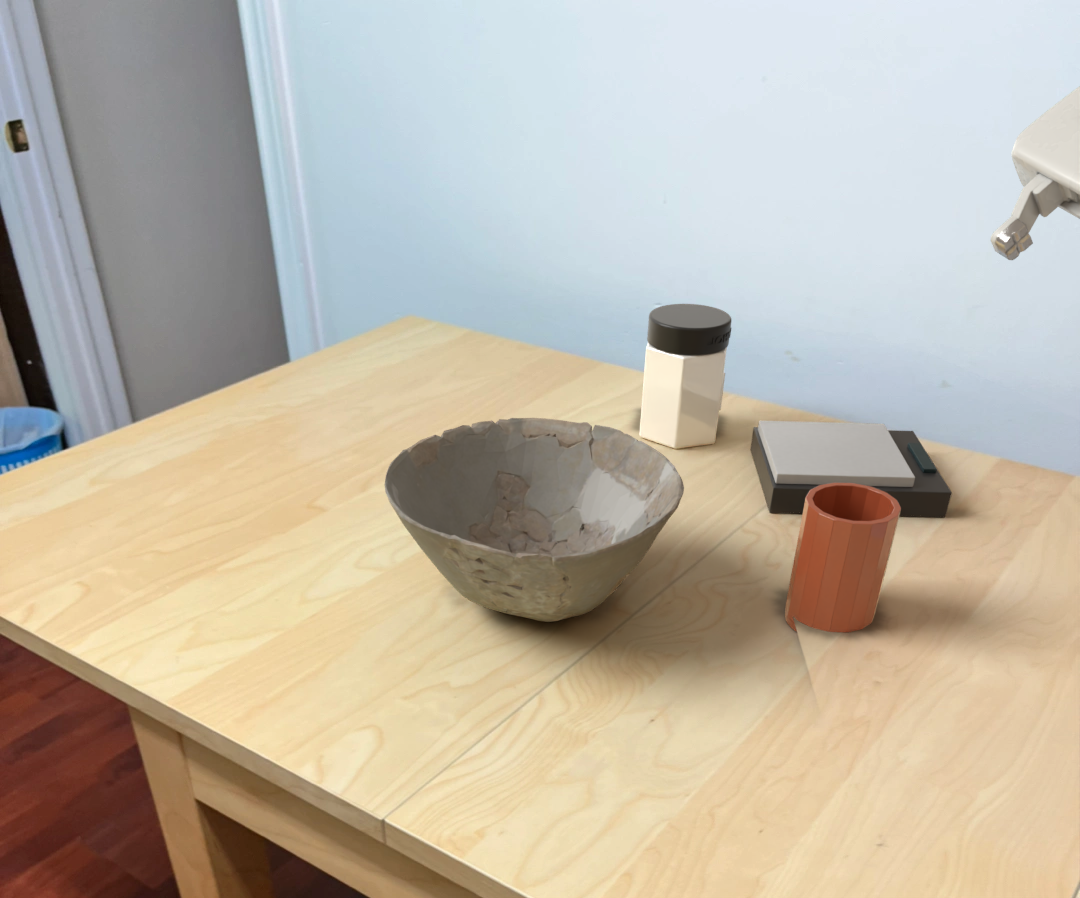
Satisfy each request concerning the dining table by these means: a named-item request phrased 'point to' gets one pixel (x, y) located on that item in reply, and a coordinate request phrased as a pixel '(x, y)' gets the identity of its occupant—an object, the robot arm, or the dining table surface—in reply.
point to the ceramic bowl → (534, 510)
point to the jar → (684, 374)
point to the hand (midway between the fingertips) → (1046, 280)
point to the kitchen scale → (845, 464)
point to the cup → (841, 556)
